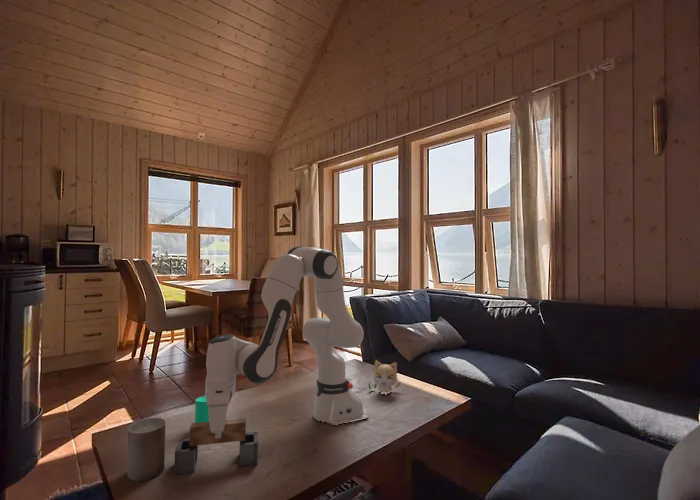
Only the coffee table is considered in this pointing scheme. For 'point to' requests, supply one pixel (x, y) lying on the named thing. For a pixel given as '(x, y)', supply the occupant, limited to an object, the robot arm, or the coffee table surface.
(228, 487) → the coffee table surface
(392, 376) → the kitten
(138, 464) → the pillar candle
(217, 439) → the slat
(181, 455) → the endcap
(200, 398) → the candle
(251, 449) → the endcap
